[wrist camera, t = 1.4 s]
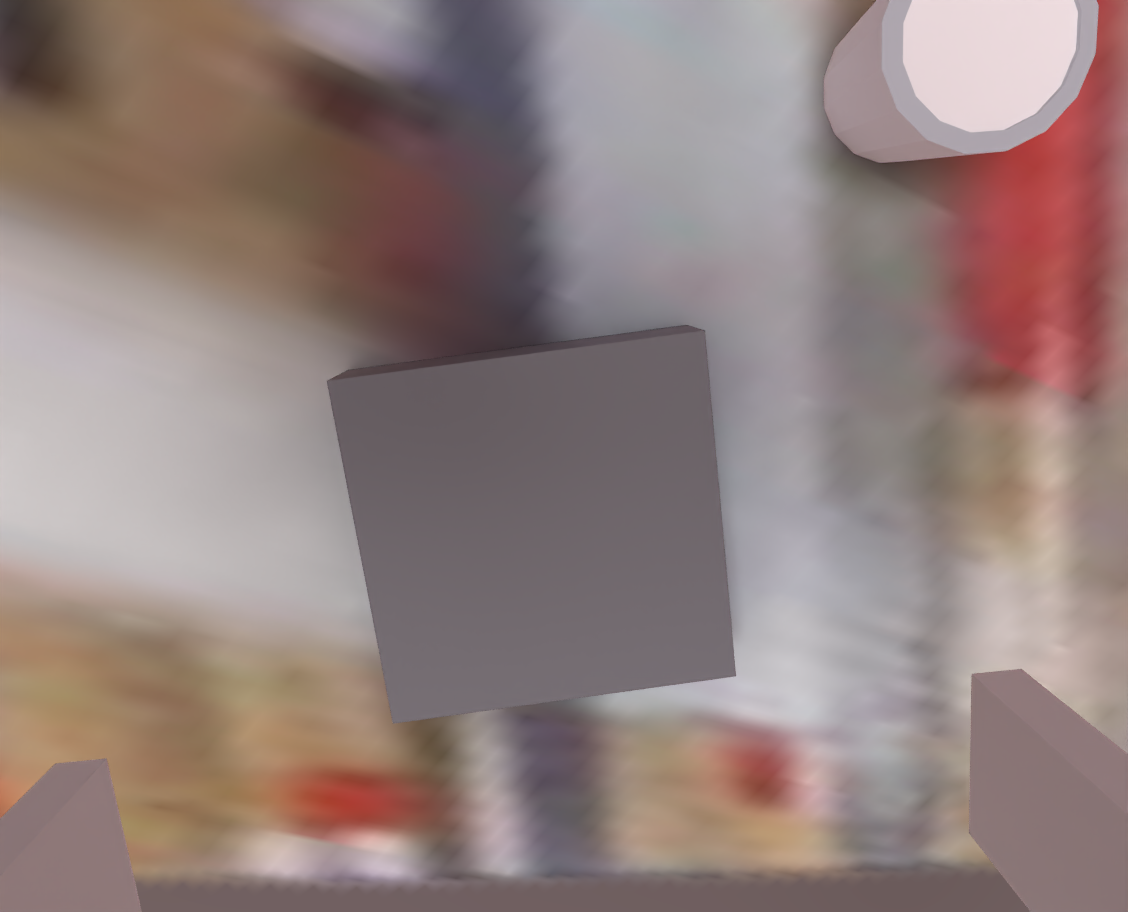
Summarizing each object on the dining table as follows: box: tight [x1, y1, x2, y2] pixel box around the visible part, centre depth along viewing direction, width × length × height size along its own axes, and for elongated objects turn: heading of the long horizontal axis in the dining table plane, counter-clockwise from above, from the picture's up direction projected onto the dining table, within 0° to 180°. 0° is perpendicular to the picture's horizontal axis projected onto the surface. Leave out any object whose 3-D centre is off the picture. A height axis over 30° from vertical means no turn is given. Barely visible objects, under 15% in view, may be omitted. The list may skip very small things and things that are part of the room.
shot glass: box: [824, 0, 1099, 163], centre depth 29 cm, size 7×7×7 cm
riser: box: [327, 325, 736, 723], centre depth 34 cm, size 14×14×4 cm
